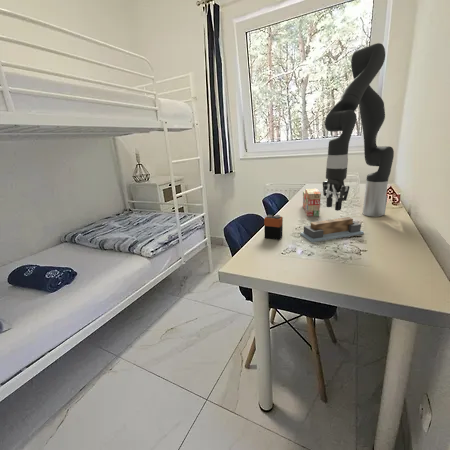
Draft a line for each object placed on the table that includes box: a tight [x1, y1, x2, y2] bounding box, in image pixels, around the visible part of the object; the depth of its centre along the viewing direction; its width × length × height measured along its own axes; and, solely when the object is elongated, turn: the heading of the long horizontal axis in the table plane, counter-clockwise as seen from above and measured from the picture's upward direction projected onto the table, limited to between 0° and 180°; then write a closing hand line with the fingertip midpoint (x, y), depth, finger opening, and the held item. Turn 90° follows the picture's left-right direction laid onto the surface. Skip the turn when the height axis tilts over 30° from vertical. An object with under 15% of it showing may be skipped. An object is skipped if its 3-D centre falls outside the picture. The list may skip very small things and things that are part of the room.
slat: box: [310, 216, 354, 235], centre depth 106 cm, size 18×3×5 cm, turn 103°
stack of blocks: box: [302, 188, 322, 217], centre depth 140 cm, size 21×6×12 cm, turn 170°
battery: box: [263, 214, 284, 241], centre depth 106 cm, size 4×7×10 cm, turn 63°
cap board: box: [300, 220, 364, 243], centre depth 107 cm, size 24×9×4 cm, turn 103°
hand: (333, 208), depth 104 cm, fingers open, 5 cm apart
